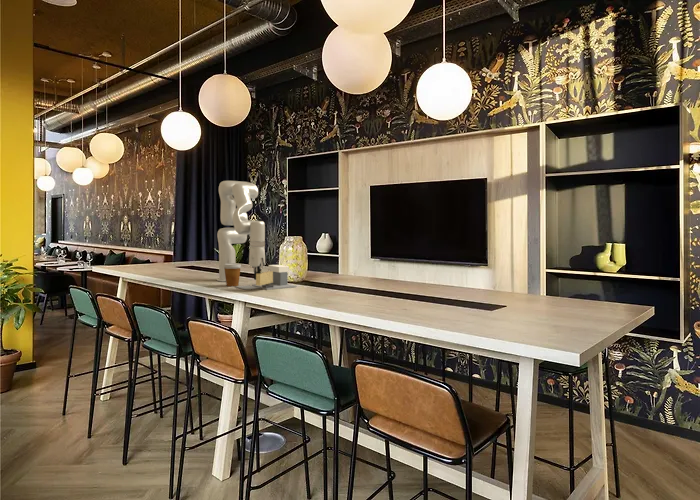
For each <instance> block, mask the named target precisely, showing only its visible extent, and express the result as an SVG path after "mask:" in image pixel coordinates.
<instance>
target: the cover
mask: <svg viewBox="0 0 700 500" xmlns="http://www.w3.org/2000/svg"><path fill="white" fill-rule="evenodd" d="M267 266H268V267H267V268H268V269H267V270H268V271H273V272H288V273H289V272H290V266H288V265H282V264H269V265H267Z"/></svg>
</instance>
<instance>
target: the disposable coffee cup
mask: <svg viewBox="0 0 700 500" xmlns="http://www.w3.org/2000/svg"><path fill="white" fill-rule="evenodd" d="M241 268H242V265H241V263H232V264H224V269H225V277H226V282H225V284H226V287H231V286H233V287H235V286H240V285H239V282H240V274H241Z"/></svg>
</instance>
